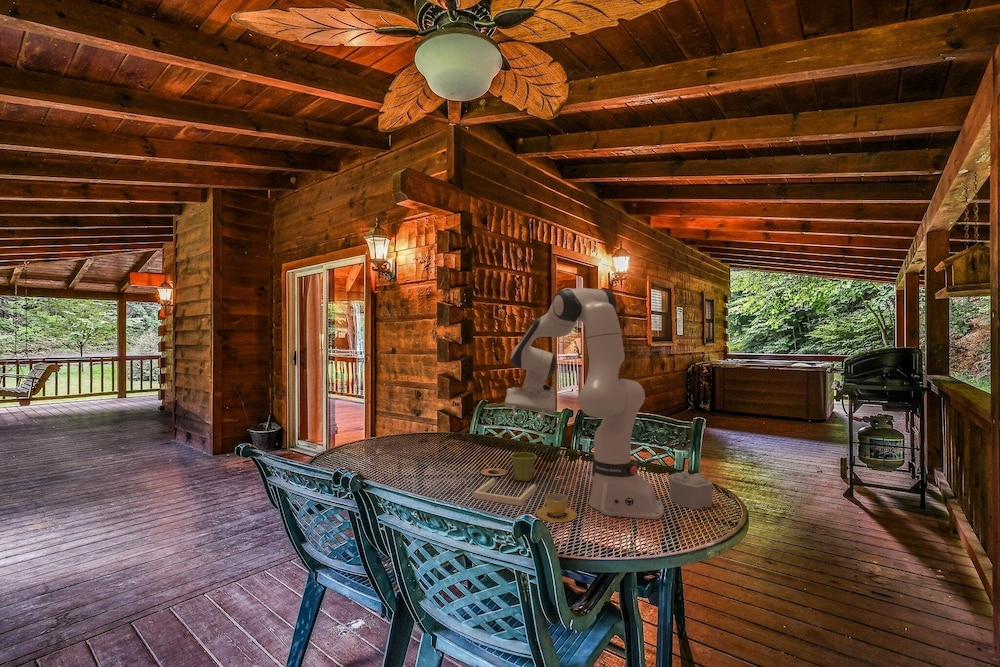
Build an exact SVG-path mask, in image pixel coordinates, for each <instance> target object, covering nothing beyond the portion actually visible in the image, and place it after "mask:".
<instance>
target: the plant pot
mask: <svg viewBox="0 0 1000 667" xmlns="http://www.w3.org/2000/svg"><path fill="white" fill-rule="evenodd" d="M510 458H511V461H512V466H513V472H514V479H515V480H516V481H521V482H529V481H531V480H532V479H533V472H534V464H535V461H536V458H537V455H536V454H535V453H532V452H525V451H524V452H514V453H512V454H510Z"/></svg>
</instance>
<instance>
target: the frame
mask: <svg viewBox="0 0 1000 667" xmlns="http://www.w3.org/2000/svg"><path fill="white" fill-rule="evenodd" d="M495 485H496V479H495V478H490V479H489V480H488V481H486V482H485V483H483V485H481V486H480V487H478V488H477V489H475V491H472V499H476V500H480V501H485V502H487V501H488V502H492V503H493V502H494V503H498V504H506V505H512V506H520V507H521V506H522V505H524V504H525V502H526V501H527V500H528V499H529V498H530V497H532V496H533V494H534V493H535V492H537V484H532V485H530V486H529V487H528V488H527V489H526V490H525V491H524V492H523V493H522V494H521V495H520V496H519V497H515V496H509V495H502V494H498V493H497V494H496V493H489V492H487V491H489V490H490V489H491V488H493V487H494V486H495Z"/></svg>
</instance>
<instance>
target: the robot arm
mask: <svg viewBox="0 0 1000 667" xmlns="http://www.w3.org/2000/svg"><path fill="white" fill-rule="evenodd" d="M616 308H617V299H616V297H615V295H614V293H613V292H612V291H610V290H608V289H604V288H598V289H597V288H587V287H576V288H571V287H566V288H562V289H561V290H559V291H557V292H556V294H555V295H554V297H553V299H552V303H551V305H550V307H549V310H547V312H546V313H545V314H544V315H541V316H537V317H536V318H535V319H534V320H533V321H532V323H531V324H530V325H529V327H528V328H527V330H526V331H525V332H524V334H523V335H522V337H521V339H520V340H519V341H518V343H516V345H515V346H514V348H513V349H512V351H511V353H510V360H509V361H510V363H511V364H512V366H513V367H514V368H516V369H521V370H524V371H525V370H526V372H525V378H524V381H523V384H522V387H515V386H512V387H510V388H508V389H507V391H506V396H505V400H504V406H505V407H506V408H507V409H512V412H513V414H512V417H513V418H514V419H517V418H518V416H519V413H518V412H516V411H517V410H520V411H527V412H528V411H529V412H536V413H540V414H537V417H536V421H537V422H541V421H542V419H543V417H544V416H546V414H550V415H553V414H554V413H555V411H556V396H555V389H554V387H553V386H551V385H549V384H546V380H547V379H549V378H550V377H551V378H552V376H553V375H554V374H555V371H556V366H557V361H558V360H557V357H556V356H555V354H554V353H552V352H550V351H547V350H544V349H541V348H540V349H539V348H537V347H533V346H531V345H532V344H533V343H534V341H535V340H536V339H538V338H543V337H548V338H549V337H550V338H562V337H565V336H567V335H569V334H570V333H571V332H572V331H573V329H574V328H575V326H576V324H577V323H578V322H579V321H581V322H582V323H583V325H584V330H585V339H586V347H587V348H586V349H587V356H588V357H587V358H588V368H587V369H588V371H587V376H586V379H585V380H586V381H585V383H584V384H583V386H582V387H581V389H580V391H579V393H578V396H577V397H578V406H579V407H580V409H581V411H582V412H583V414H585V415H586V416H589V417H594V418H600V419H601V418H602V421H601V422H600V425H599V426H598V428H597V429H596V430H595V432H594V439H593V445H594V446H593V458H592V464H591V473H592V477H593V478H592V485H591V486H592V487H591V492H590V495H589V499H588V505H589V507H591V508H593V509H594V510H597V511H599V513H601V514H602V515H604V516H609V517H610V516H611V517H620V518H621V517H622V518H633V519H646V520H657V519H658V520H659V519H660V518H662V517H663V515H664V514H665V506H664V504H663V503H662V502H661V501H660V500H657V496H656V495H657V494H656V492H655V491H656V490H655V489H654V487H653V486H652V484H650V483H649V482H648V481H646V480H645V479H644V478H643V477H642V476H641V475H639V473H638V471H639V470H638V463H637V461H635V462H634V461H633V460H631V450H632V449H631V445H632V443H631V442H632V432H633V429H634V425H635V422H636V419H637V414H638V413H639V411H640V408H642V406H643V404H644V402H645V399H646V393H645V390H644V388H643V386H642V385H641V384H640V383H639V381H638V382H637V381H635V380H632V379H628V378H619V374H620V369H621V366H622V365H623V363H624V361H625V356H626V355H625V350H624V349H625V348H624V343H623V336H622V329H621V325H620V321H619V317H618V314H617V311H616Z"/></svg>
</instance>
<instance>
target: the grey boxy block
mask: <svg viewBox="0 0 1000 667" xmlns="http://www.w3.org/2000/svg"><path fill="white" fill-rule="evenodd" d="M668 478H669V481H668V482H669V484H668V488H669V489H668V490H669V492H668V494H669V497H668V498H670V499H669V500H670V502H672V503H673V502H674V504H675V503H676V504H675V505H677V504H678V506H680V505H681V506H680V507H682V506H684V507H683V508H685V507H687V508H686V509H688V508H690V509H689V510H692V509H700V510H702V509H701V508H703V507H709V506H712V507H713V483H712V481H710V480H708V479H706V478H704V477H703V476H702V474H700V473H693V474H692V473H691V474H690V473H689V472H688V471H685V470H684V471H681V472H675V473H671V474H670V475H669V477H668ZM703 509H704V508H703Z"/></svg>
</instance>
